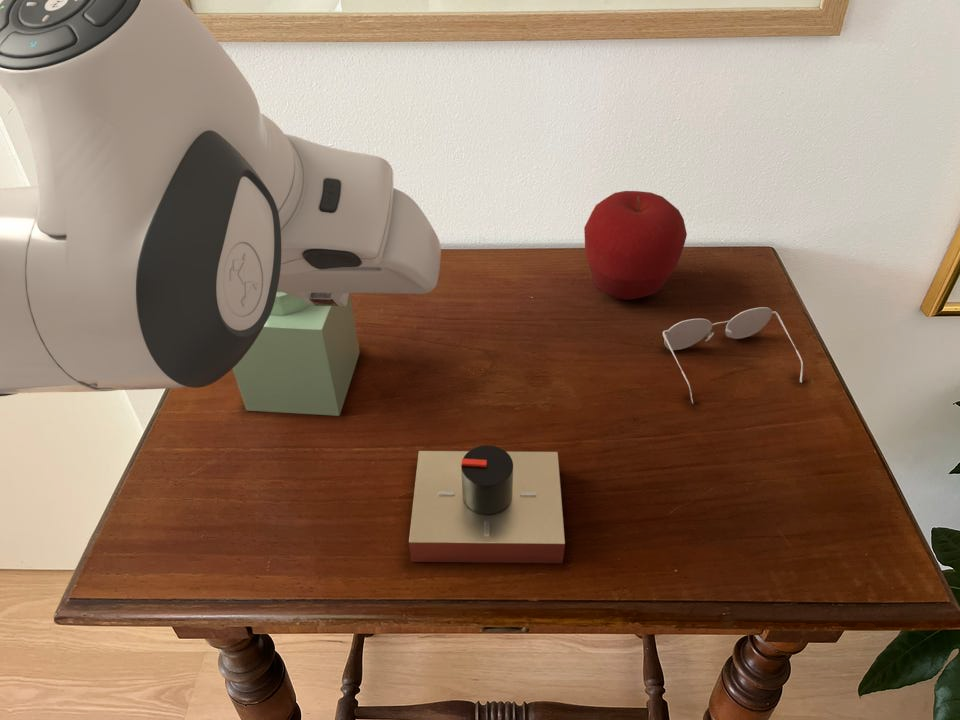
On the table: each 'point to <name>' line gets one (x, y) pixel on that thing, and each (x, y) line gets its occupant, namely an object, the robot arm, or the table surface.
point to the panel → (487, 537)
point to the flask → (300, 359)
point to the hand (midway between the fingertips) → (330, 297)
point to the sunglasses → (736, 328)
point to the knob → (487, 479)
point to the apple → (633, 243)
